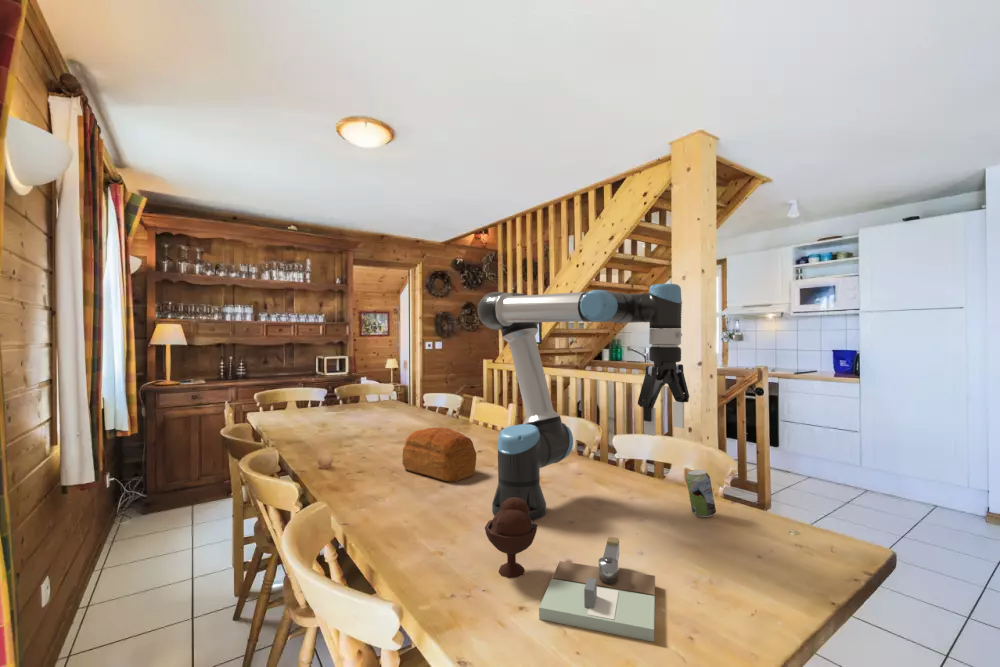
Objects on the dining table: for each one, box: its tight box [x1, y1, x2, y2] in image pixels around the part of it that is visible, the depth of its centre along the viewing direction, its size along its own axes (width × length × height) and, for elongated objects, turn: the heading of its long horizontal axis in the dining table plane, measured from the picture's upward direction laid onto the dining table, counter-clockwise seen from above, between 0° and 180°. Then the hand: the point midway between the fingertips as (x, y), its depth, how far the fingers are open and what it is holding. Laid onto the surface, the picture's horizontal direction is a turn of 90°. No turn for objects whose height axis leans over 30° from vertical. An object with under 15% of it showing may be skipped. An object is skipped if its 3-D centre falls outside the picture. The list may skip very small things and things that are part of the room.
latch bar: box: [598, 536, 620, 583], centre depth 93 cm, size 12×4×4 cm, turn 161°
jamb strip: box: [551, 560, 656, 597], centre depth 91 cm, size 19×7×2 cm, turn 71°
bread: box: [401, 427, 477, 483], centre depth 168 cm, size 16×27×16 cm, turn 50°
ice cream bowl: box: [484, 497, 538, 579], centre depth 97 cm, size 11×11×15 cm
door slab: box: [538, 578, 656, 643], centre depth 82 cm, size 19×10×5 cm, turn 71°
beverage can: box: [685, 469, 717, 518], centre depth 126 cm, size 6×7×12 cm
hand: (664, 430), depth 116 cm, fingers open, 13 cm apart
